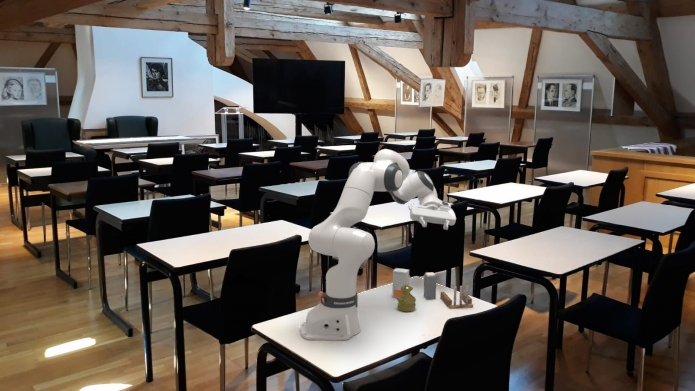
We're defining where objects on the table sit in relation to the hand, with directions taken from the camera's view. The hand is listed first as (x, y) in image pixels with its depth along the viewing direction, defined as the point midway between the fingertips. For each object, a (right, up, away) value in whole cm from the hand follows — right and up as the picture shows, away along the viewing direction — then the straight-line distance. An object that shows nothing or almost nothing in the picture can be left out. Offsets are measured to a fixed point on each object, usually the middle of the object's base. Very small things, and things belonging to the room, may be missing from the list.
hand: (435, 227), depth 243 cm
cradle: (+7, -31, -6) cm, 32 cm away
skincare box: (-15, -30, 0) cm, 33 cm away
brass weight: (-14, -32, -13) cm, 37 cm away
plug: (-3, -30, -1) cm, 30 cm away
